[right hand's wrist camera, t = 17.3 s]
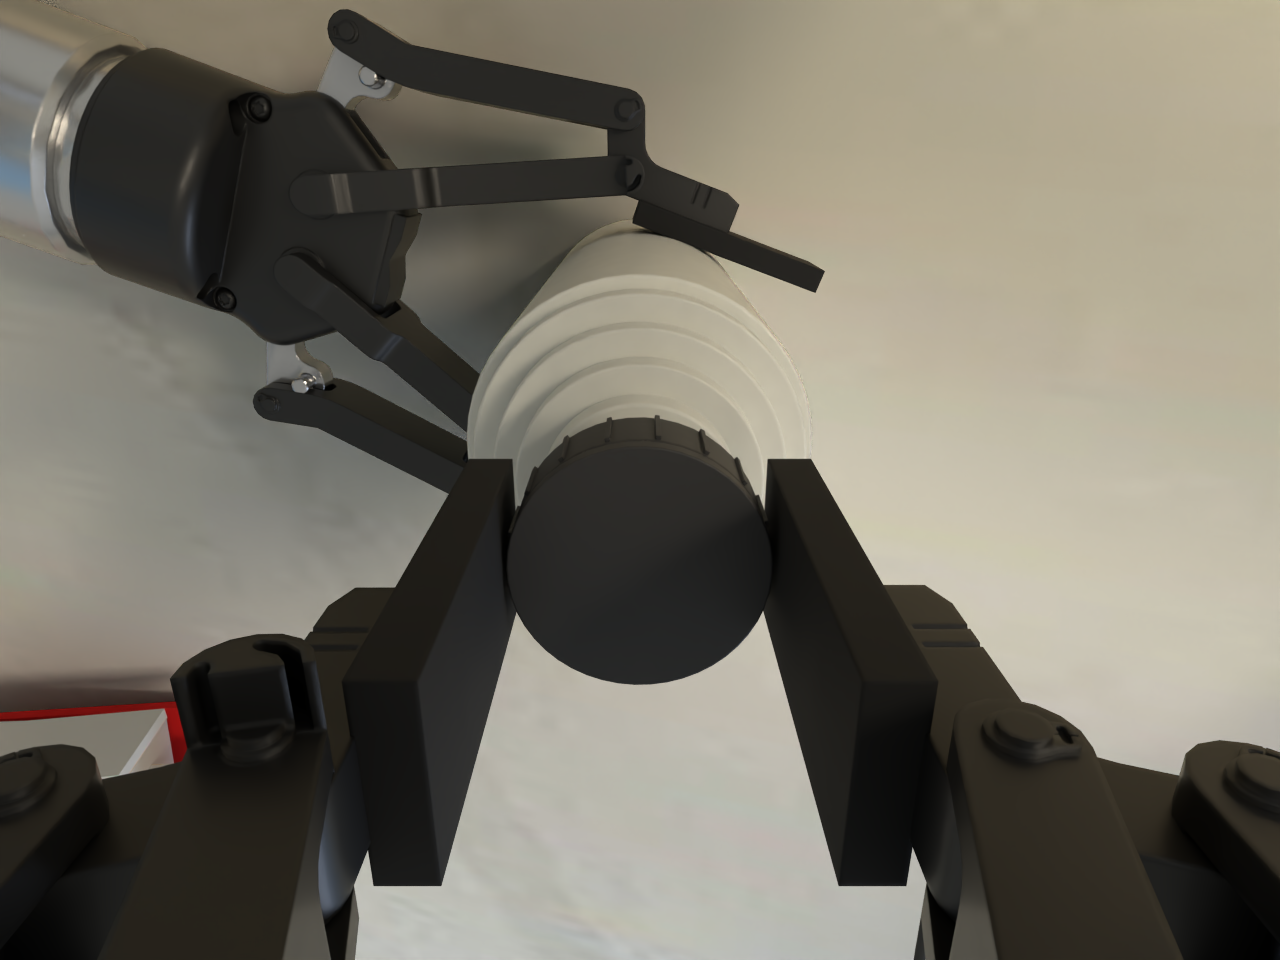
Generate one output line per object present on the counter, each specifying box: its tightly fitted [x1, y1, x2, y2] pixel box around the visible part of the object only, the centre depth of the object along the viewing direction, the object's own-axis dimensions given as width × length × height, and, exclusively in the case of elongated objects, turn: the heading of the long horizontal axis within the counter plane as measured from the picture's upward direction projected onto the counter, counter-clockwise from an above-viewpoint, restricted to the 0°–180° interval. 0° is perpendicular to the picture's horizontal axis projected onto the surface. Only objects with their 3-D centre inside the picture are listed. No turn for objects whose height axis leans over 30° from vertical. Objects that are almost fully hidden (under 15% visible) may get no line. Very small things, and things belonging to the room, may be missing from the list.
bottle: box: [467, 219, 813, 509], centre depth 24 cm, size 8×8×23 cm
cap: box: [506, 415, 773, 685], centre depth 14 cm, size 4×4×2 cm
